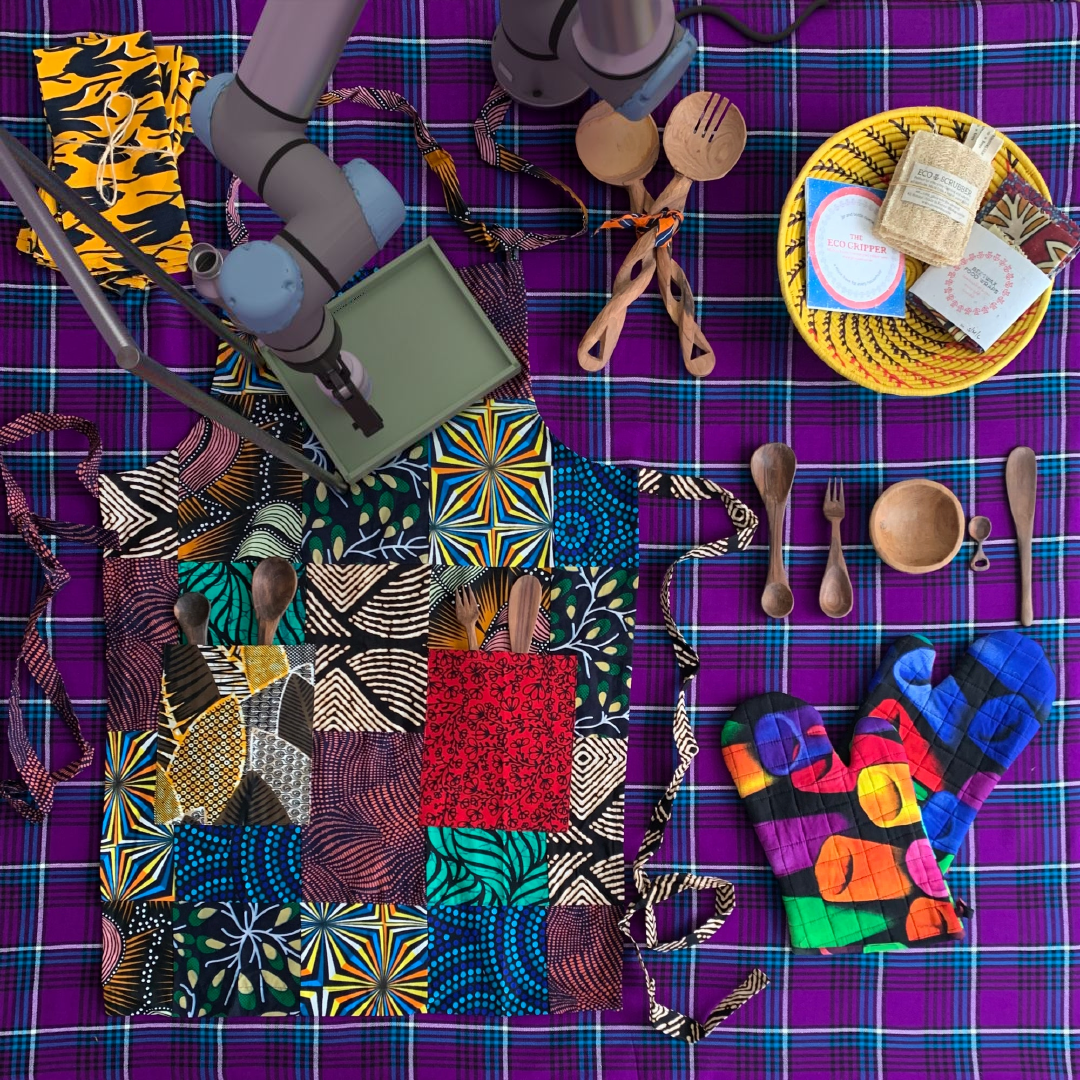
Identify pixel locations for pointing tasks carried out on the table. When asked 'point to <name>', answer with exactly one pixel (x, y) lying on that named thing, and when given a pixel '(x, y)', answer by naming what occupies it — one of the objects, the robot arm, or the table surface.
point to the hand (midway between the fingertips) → (344, 381)
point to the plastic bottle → (210, 276)
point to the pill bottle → (352, 378)
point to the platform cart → (367, 332)
